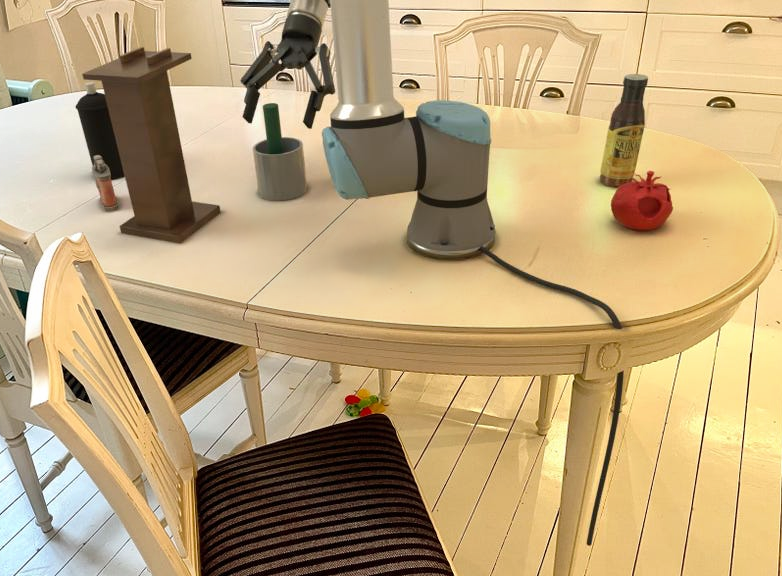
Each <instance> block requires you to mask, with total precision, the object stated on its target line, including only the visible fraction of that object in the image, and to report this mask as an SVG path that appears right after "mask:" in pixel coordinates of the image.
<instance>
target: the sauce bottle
mask: <svg viewBox="0 0 782 576" xmlns="http://www.w3.org/2000/svg"><path fill="white" fill-rule="evenodd" d="M648 82H649V77H648V75H645V74H640V73H629V74H626V75H625V76H624V77H623V81H622V84H623V88H622V93H621V97H620V102H619V103H617V105H616V107H615V108H614V110H613V111H612V113H611V115H610V121H609V126H608V128H607V133H606V139H605V144H604V149H603V155H602V160H601V164H600V165H601V166H600V171H599V172H600V174H599V181H600V182H601V183H602V184H603V185H605V186H610V187H615V188H616V187H617V188H618V187H619V186H621V185H623V184H626V183H632V182H633V180H630V181H626V180H628V179H631V178H634V176H635V174H636V168H637V164H638V159H639V154H640V151H641V145H642V140H643V135H644V131H645V127H646V112H645V107H644V97H645V92H646V91H645V90H646V87H647V86H648Z"/></svg>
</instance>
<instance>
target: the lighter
mask: <svg viewBox="0 0 782 576" xmlns="http://www.w3.org/2000/svg"><path fill="white" fill-rule="evenodd" d="M94 164H95V165H93V166H91V172H92V175H93V177H94V182H95V187H96V188H97V191H98V194H99V200H100V205H101V207H102V208H103V210H104V211H106V212H114V211H117V210H118V209H119V200H118V197H117V196H116V194H115V189H114V185H113V182H112V180H111V178H110V176H111V174H110V170H109V167H108V166H107V165H106V164H104V161H103V160H102V157H101V156H100V155H96V156H94Z"/></svg>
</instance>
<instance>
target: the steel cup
mask: <svg viewBox="0 0 782 576" xmlns="http://www.w3.org/2000/svg"><path fill="white" fill-rule="evenodd" d="M282 144H283V153H282V154H268V146H267V138H266V139H263V140H260V141H259V142H256V143H255V144H254V145H253V147H252V155H253V161H254V162H253V163H254V168H255V177H256V183H257V190H258V195H259V197H261V198H263V199H265V200H268V201H277V202H278V201H288V200H292V199H296V198H298V197H301V196H303V195H304V194H305V193H306V192H307V189H308V187H307V186H308V185H307V184H308V183H307V174H306V163H305V162H306V161H305V152H304V143H303V141H302V140H301V139H299V138H295V137H289V136H282Z"/></svg>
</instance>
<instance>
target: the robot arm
mask: <svg viewBox="0 0 782 576" xmlns="http://www.w3.org/2000/svg"><path fill="white" fill-rule="evenodd" d="M329 6H330V7H329ZM329 8H330V17H331V28H332V29H331V30H332V41H333V51H334V65H335V76H336V87H337V100H338V102H337V104H336V106H334V107H335V108H334V109H332V111H331V112H330V114H329V119H330V123H331V125H330V126H326V127H325V128H323V129H322V131H321V139H322V146H323V151H324V156H325V161H326V164H327V168H328V172H329V176H330V179H331V182H332V184H333V187H334V189H335V192H336V193H337V195H338V196H339V197H340V198H341V199H343V200H358V199H365V200H369V198H377V197H382V196H383V197H385V196H389V195H396V194H404V193H413V192H416V201H415V204H414V207H413V210H412V213H411V218H410V221H409V223H408V225H407V228H406V243H407V245H408V247H409V248H410V249H411V250H412V251H413V252H415V253H417V254H419V255H421V256H423V257H427V258H430V259H436V260H442V261H443V260H444V261H445V260H446V261H455V260H458V261H459V260H466V259H470V258H474V257H478V256H480V255H482V254H484V255H486V256H487V257H489V258H490V259H491V260H493V261H494V262H495V263H497V264H498V265H500V266H501V267H503V268H504V269H507V270H508V271H510V272H512V273H514V274H515V275H518V276H520V277H522V278H524V279H526V280H528V281H531V282H533V283H535V284H538V285H541V286H543V287H546V288H548V289H552V290H555V291H559V292H563V293H566V294H569V295H573V296H575V297H577V298H580V299H582V300H584V301H585V302H588V303H590V304H593V305H595V306H597V307H599V308H600V309H602V310H603V312H605V313H606V315H607V316H608V318H609V319H610V321H611V323H612V324H613V326H614V328H615V329H617V330H622V329H623V326H622V324H621V322H620V320H619V318H618V316H617V314H616V313H615V312H614V310H613V309H612V308H611V307H610V306H609V305H607V304H606V303H605V302H603V301H601V300H599V299H597V298H595V297H593V296H591V295H589V294H586V293H584V292H583V291H579V290H578V289H576V288H572V287H569V286H566V285H562V284H560V283H559V284H558V283H554V282H552V281H548V280H545V279H543V278H540V277H537V276H534V275H532V274H530V273H529V272H525V271H524V270H522V269H519V268H517V267H515V266H513V265H512V264H510V263H508V262H506V261H505V260H503V259H502V258H500V257H499V256H498V255H496V254H495V253H494V252H492V251H490V249H492V248H493V246H494V245H495V242H496V234H497V233H496V232H497V231H496V227H495V226H496V225H495V223H494V219H493V216H492V213H491V209H490V205H489V201H488V183H489V167H490V153H491V152H490V151H491V144H492V138H491V136H492V135H491V118H490V117H489V114H488V113H487V112H486V111H485V110H483V108H481V107H478V106H476V105H473V104H471V103H467V102H461V101H456V100H444V99H443V100H429V101H426V102H423V103H420V104H419V105H418V106H417V109H416V110H415V115H416V116H409V117H405V108H404V106H403V104H401V102H399V101H398V100H397V99H396V98H395V96H394V95H395V94H394V81H393V79H394V78H393V61H392V60H393V58H392V41H391V23H390V21H391V19H390V4H389V0H290V3H289V6H288V10H287V14H286V18H285V20H284V23H283V24H284V25H283V29H282V31H281V39H280V42H279V43H278V44H274V43H271V41H270V40H267V41H265V42H264V44H263V45H264V46H263V49H262V50H261V52H260V53H259V55H258V56H257V57H256V59H255V60H254V61H253V63H252V64H251V65H250V66H249V68H248V69H247V70H246V72H245V73H244V74H243V76H242V77H241V78H240V83H241V84H242V85H243V86H244V87H245V89H246V92H245V95H244V99H243V102H244V104H245V106H244V110H243V114H242V116H241V117H242V118H243V120H244V121H245V122H246V123H247V124H251V125H252V124H253V121H254V117H255V115H256V114H255V113H256V110H257V106H258V103H259V99H260V97H261V93H260V92H259V90H260V89H261V88H263V87H264V86H265V85H266V84H267V83H268V82H270V81H271V80H272V78H274V77H275V76H277V74H279V73H280V72H283V71H284V70H285V69H287V70H292V69H293V70H294V69H295V70H303V68H304V69H305V71H306V73H307V74H308V76H309V79H310V80H311V82H312V85H313V87H314V90H311V91H310V95H309V99H308V101H307V105H306V109H305V112H304V116H303V119H302V123H303V125H304V126H305V127H306V128H307V129H310V130H312V129H313V125H314V122H315V118H316V115H317V112H320V111H321V109H322V107H323V102H324V100H325V97H326V96H328V95H332V96H333V95H334V94H335V93H336V87H335V83H334V77H333V72H332V67H331V62H330V59H331V54H332V53H331V50H330V48H329V47H328V45H327V43H326V42H323V43H321V44H320V46H319V43H320V40H321V36H322V33H323V28H324V25H325V21H326V19H327V18H326V17H327V14H328V10H329ZM316 56H318V58H319V62H320V68H321V73H322V77H323V83H324V84H322V82H321V80H320V78H319V76H318V74H317V72H316V70H315V67H314V66H313V64H312V62H311V61H313V59H314V58H315V57H316ZM280 62H281V63H280ZM624 371H625V370H622V371H619V372H617V374H616V385H615V386H616V387H615V395H614V396H615V397H614V404H613V411H612V418H611V424H610V430H609V435H608V440H607V443H606V444H607V445H606V449H605V455H604V459H603V463H602V468H601V473H600V477H599V481H598V485H597V491H596V494H595V499H594V504H593V508H592V512H591V517H590V522H589V527H588V533H587V538H586V546H592V544H593V538H594V533H595V529H596V523H597V519H598V514H599V509H600V505H601V502H602V501H601V500H602V496H603V492H604V487H605V483H606V480H607V476H608V475H607V474H608V470H609V467H610V466H609V465H610V463H611V462H610V460H611V457H612V453H613V448H614V444H615V438H616V433H617V429H618V424H619V417H620V411H621V404H622V396H623V387H624V386H623V385H624V375H625V374H624V373H625V372H624Z"/></svg>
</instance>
